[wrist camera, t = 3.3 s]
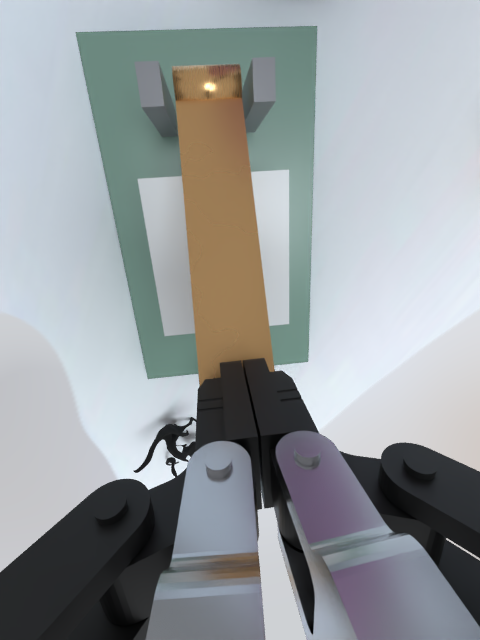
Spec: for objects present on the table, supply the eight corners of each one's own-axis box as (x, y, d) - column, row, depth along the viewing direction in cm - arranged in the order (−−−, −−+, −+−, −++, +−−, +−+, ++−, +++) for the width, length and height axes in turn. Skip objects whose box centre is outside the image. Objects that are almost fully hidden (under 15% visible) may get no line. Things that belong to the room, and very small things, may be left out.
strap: (176, 92, 15) (170, 55, 13) (236, 89, 15) (238, 52, 13) (206, 441, 13) (204, 453, 11) (276, 432, 13) (285, 443, 11)
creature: (241, 424, 32) (190, 389, 27) (255, 471, 27) (196, 438, 23) (186, 464, 33) (129, 436, 29) (191, 515, 29) (125, 491, 24)
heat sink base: (85, 45, 18) (-17, -87, 10) (309, 38, 19) (386, -87, 11) (150, 369, 27) (125, 445, 18) (303, 353, 28) (344, 418, 19)
